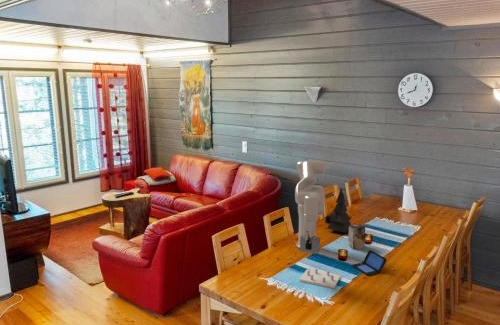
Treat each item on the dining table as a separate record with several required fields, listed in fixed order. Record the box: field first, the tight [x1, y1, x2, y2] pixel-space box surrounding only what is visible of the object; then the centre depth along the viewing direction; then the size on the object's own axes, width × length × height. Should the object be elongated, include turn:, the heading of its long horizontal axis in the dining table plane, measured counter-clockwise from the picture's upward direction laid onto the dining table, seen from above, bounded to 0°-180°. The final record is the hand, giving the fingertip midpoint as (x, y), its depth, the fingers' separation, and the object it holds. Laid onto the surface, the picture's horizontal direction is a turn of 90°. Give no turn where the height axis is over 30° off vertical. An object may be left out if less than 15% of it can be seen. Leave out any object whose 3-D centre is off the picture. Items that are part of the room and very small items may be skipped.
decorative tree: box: [326, 187, 352, 233], centre depth 294 cm, size 15×15×35 cm
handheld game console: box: [351, 249, 387, 277], centre depth 235 cm, size 16×13×9 cm
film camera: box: [323, 213, 334, 224], centre depth 318 cm, size 15×10×9 cm, turn 90°
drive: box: [299, 235, 321, 255], centre depth 224 cm, size 5×10×8 cm, turn 63°
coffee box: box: [347, 223, 366, 250], centre depth 266 cm, size 9×6×16 cm
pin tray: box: [298, 268, 341, 289], centre depth 224 cm, size 14×20×4 cm
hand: (310, 247), depth 225 cm, fingers closed on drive, 5 cm apart
